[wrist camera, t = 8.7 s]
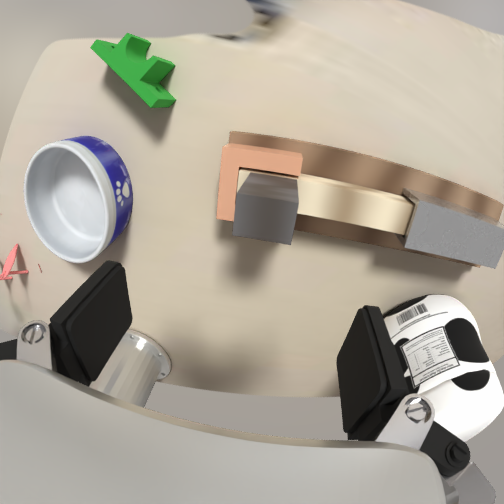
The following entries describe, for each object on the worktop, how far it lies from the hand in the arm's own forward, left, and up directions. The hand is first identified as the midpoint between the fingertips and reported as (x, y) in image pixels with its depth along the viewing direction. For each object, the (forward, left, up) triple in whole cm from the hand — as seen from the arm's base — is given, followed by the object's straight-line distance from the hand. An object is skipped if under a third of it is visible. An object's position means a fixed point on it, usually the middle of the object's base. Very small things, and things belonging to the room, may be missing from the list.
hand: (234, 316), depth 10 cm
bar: (0, -7, -19) cm, 20 cm away
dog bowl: (-4, +24, -21) cm, 32 cm away
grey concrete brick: (0, -21, -19) cm, 28 cm away
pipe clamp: (+12, +15, -21) cm, 28 cm away
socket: (0, +1, -19) cm, 19 cm away
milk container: (-17, -25, -21) cm, 36 cm away
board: (0, -12, -20) cm, 24 cm away
